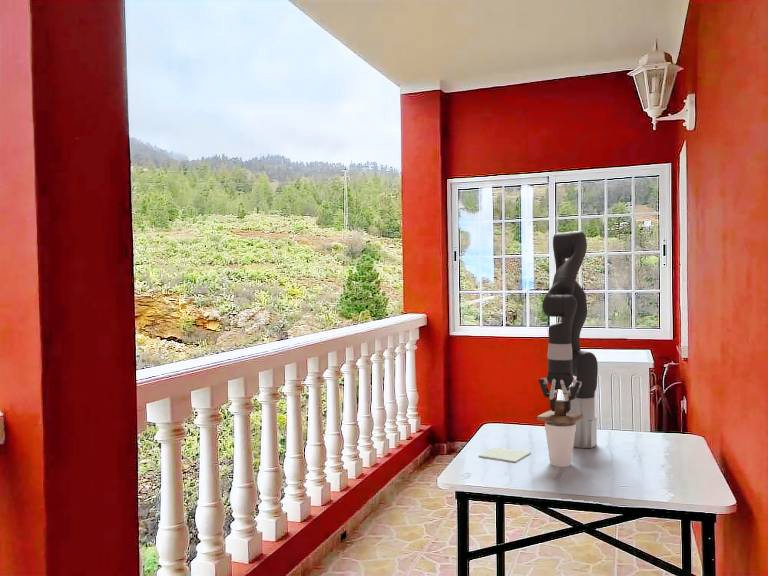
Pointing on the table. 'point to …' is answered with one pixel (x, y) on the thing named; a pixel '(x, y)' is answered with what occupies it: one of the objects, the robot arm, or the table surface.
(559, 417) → the lid
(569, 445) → the foam cup
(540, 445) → the table surface
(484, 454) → the mat
